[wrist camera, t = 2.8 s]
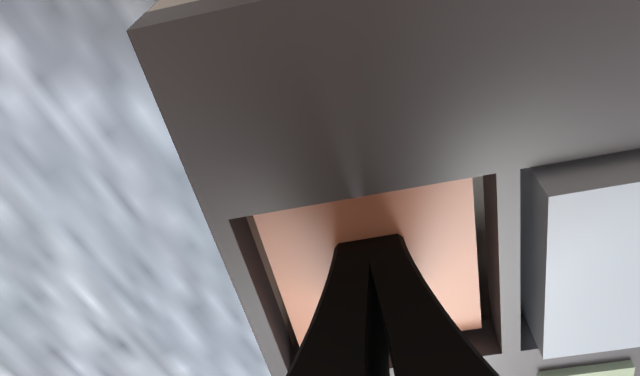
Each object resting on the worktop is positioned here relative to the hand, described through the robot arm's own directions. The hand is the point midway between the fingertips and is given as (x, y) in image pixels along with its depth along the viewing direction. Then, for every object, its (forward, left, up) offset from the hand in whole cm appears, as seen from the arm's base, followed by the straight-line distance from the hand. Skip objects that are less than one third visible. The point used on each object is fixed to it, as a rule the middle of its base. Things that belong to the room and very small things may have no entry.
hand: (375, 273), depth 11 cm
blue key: (-5, 0, -1) cm, 5 cm away
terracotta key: (0, 0, -2) cm, 2 cm away
